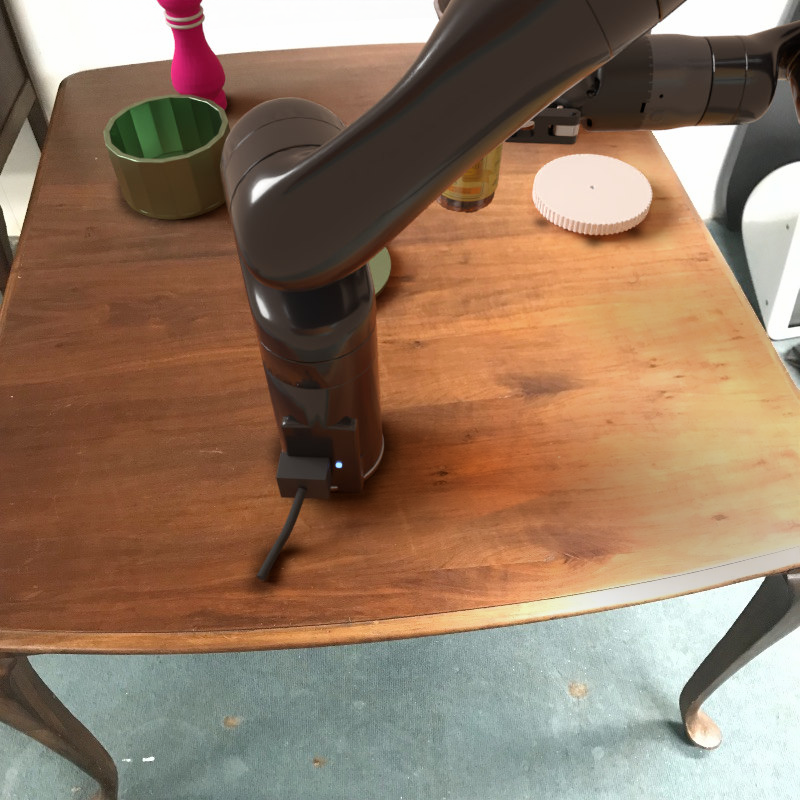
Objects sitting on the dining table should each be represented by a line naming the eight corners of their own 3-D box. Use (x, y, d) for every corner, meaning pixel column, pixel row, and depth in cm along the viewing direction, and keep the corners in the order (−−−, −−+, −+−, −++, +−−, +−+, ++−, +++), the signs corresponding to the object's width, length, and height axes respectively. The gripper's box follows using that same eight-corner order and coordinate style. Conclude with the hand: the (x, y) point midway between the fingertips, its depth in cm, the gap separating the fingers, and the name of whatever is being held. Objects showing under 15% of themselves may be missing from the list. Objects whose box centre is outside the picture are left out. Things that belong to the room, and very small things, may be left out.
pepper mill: (176, 98, 111) (137, -53, 95) (226, 90, 112) (196, -60, 97) (182, 125, 107) (143, -29, 91) (234, 116, 108) (204, -37, 92)
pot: (226, 221, 93) (213, 163, 87) (109, 218, 94) (87, 160, 88) (248, 152, 102) (237, 95, 96) (141, 150, 103) (123, 93, 97)
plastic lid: (636, 170, 99) (640, 153, 97) (657, 242, 90) (663, 224, 88) (526, 171, 99) (528, 153, 97) (537, 242, 90) (539, 224, 88)
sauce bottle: (418, 202, 73) (417, -19, 58) (453, 170, 76) (461, -48, 61) (477, 226, 71) (493, 2, 55) (511, 192, 74) (535, -30, 59)
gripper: (633, -2, 67) (439, 4, 67) (674, 86, 57) (449, 92, 57) (616, 81, 72) (437, 86, 72) (650, 172, 63) (446, 178, 63)
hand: (443, 88), depth 65 cm, fingers closed on sauce bottle, 6 cm apart
